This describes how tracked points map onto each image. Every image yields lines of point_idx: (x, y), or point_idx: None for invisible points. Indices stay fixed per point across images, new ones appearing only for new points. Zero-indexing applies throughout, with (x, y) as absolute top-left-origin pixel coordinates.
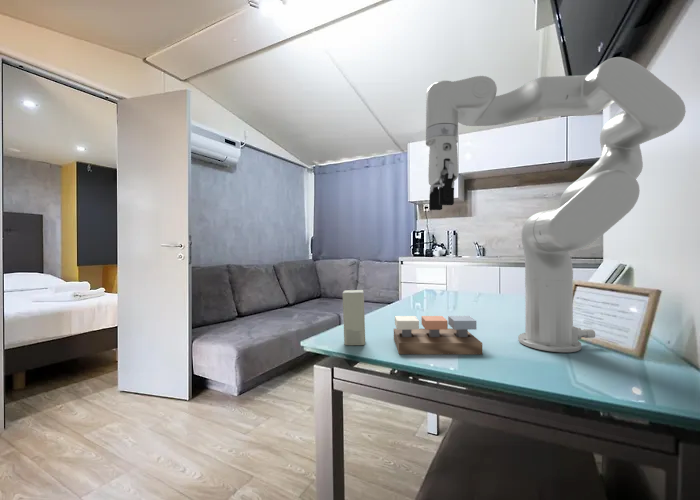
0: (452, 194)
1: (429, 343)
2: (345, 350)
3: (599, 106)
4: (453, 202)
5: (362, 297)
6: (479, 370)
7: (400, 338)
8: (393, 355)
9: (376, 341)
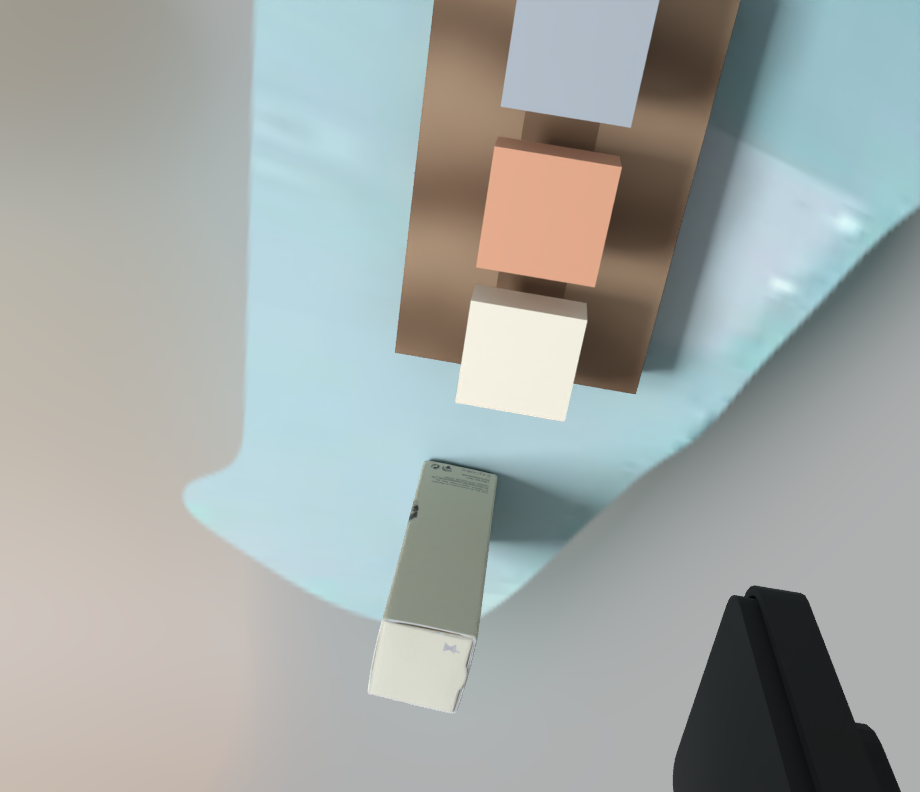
0: (849, 781)
1: (668, 265)
2: (541, 545)
3: None
4: (807, 617)
5: (479, 621)
6: (907, 116)
7: None
8: (638, 395)
9: (441, 415)
